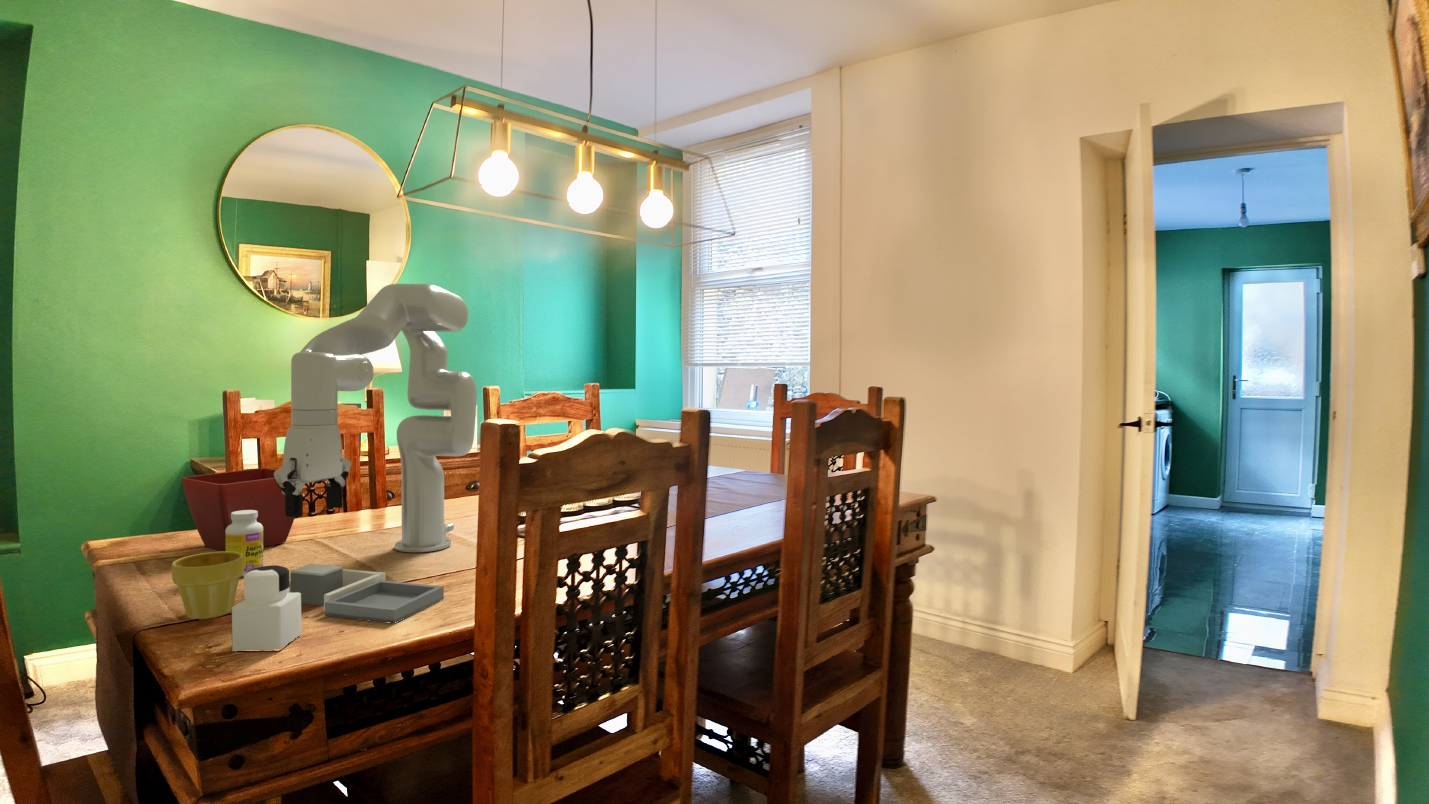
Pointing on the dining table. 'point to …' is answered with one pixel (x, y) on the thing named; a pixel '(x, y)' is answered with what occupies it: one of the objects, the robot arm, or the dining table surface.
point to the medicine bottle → (266, 611)
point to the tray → (384, 601)
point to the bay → (352, 582)
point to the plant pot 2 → (208, 582)
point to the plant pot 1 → (237, 504)
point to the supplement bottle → (246, 538)
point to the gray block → (316, 582)
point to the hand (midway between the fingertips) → (315, 511)
